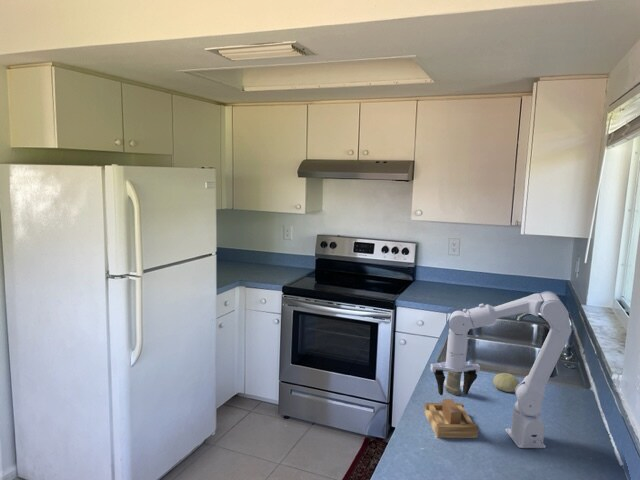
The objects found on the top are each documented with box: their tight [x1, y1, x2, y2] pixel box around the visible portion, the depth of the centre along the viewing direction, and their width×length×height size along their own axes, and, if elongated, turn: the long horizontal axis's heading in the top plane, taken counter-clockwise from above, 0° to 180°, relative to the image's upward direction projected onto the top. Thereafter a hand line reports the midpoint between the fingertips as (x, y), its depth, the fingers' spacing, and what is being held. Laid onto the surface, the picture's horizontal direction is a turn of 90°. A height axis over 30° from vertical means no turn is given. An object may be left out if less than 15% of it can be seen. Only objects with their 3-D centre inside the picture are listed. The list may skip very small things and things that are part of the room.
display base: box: [423, 402, 479, 439], centre depth 152 cm, size 14×12×4 cm
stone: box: [445, 371, 463, 396], centre depth 173 cm, size 3×6×10 cm, turn 43°
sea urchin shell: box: [492, 372, 521, 393], centre depth 179 cm, size 9×8×8 cm
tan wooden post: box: [442, 398, 461, 424], centre depth 151 cm, size 8×3×4 cm, turn 4°
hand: (452, 393), depth 150 cm, fingers open, 7 cm apart
